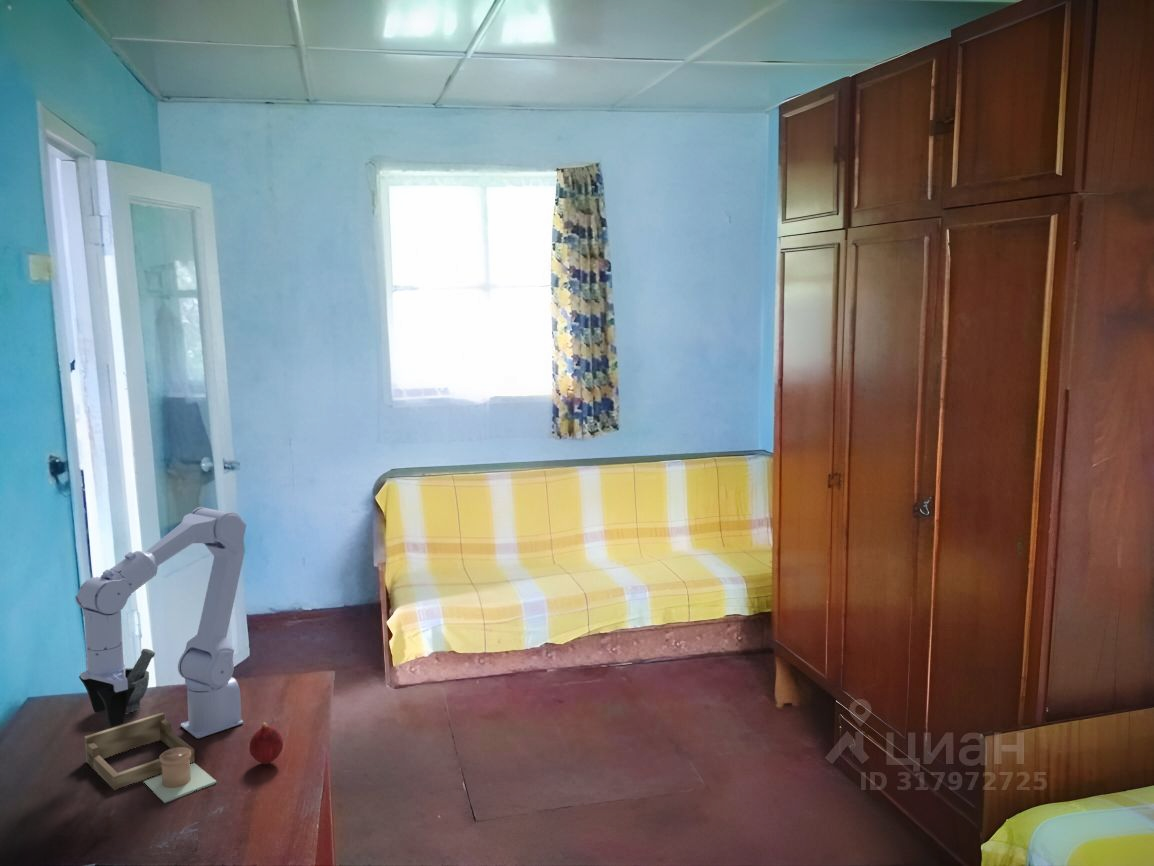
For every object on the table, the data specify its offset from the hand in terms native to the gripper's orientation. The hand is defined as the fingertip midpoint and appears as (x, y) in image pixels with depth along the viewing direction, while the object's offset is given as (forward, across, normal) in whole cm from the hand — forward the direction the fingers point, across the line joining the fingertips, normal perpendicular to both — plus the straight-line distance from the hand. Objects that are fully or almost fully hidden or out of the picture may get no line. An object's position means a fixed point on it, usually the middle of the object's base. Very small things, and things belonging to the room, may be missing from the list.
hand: (108, 717), depth 157 cm
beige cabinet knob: (+10, +12, +7) cm, 17 cm away
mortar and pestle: (+11, -25, +12) cm, 30 cm away
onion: (+11, +17, +21) cm, 29 cm away
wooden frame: (+10, 0, +5) cm, 12 cm away
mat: (+10, +12, +7) cm, 18 cm away
